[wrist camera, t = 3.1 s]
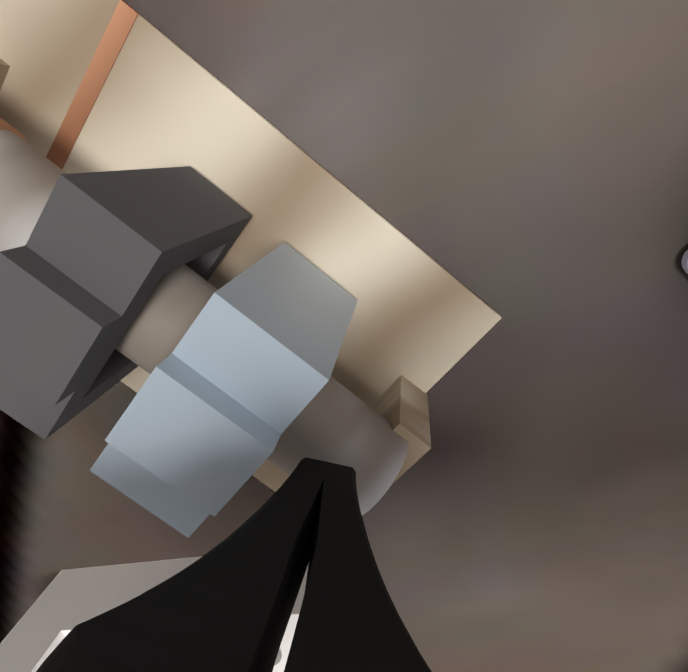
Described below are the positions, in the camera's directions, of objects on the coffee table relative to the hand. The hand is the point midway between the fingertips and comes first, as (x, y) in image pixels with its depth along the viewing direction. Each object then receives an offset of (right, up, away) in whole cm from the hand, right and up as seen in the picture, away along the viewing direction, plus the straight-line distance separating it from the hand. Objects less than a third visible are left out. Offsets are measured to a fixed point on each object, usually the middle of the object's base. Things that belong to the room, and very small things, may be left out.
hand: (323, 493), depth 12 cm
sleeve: (-2, +4, +5) cm, 7 cm away
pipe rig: (-5, +6, +4) cm, 9 cm away
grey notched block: (-5, +7, +4) cm, 9 cm away
